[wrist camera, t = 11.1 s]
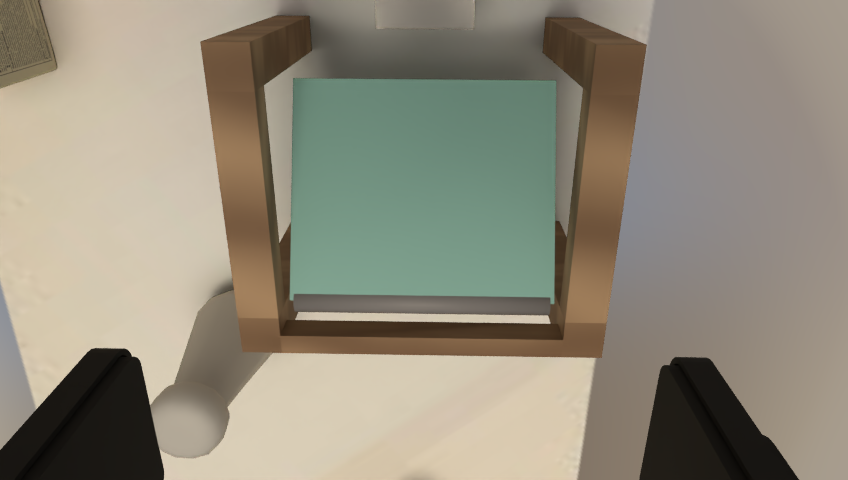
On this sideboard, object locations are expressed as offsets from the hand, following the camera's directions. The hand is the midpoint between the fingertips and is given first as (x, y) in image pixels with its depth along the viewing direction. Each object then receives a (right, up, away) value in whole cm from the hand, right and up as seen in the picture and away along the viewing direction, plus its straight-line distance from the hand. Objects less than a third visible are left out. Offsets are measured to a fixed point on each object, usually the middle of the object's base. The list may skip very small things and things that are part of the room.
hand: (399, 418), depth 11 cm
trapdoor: (0, +5, +21) cm, 21 cm away
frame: (+1, +10, +29) cm, 30 cm away
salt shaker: (-12, -2, +35) cm, 37 cm away
